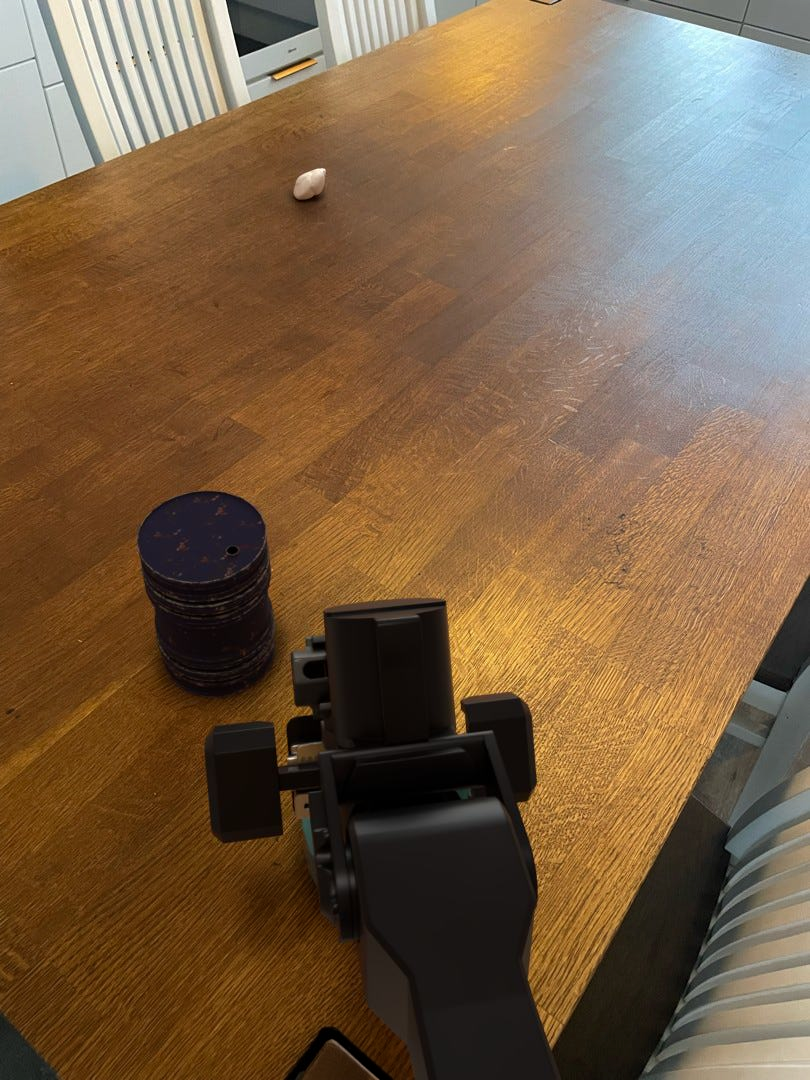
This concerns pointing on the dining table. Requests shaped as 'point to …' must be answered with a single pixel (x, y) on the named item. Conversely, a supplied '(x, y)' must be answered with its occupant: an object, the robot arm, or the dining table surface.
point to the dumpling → (310, 184)
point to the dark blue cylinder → (209, 591)
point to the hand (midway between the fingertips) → (356, 731)
